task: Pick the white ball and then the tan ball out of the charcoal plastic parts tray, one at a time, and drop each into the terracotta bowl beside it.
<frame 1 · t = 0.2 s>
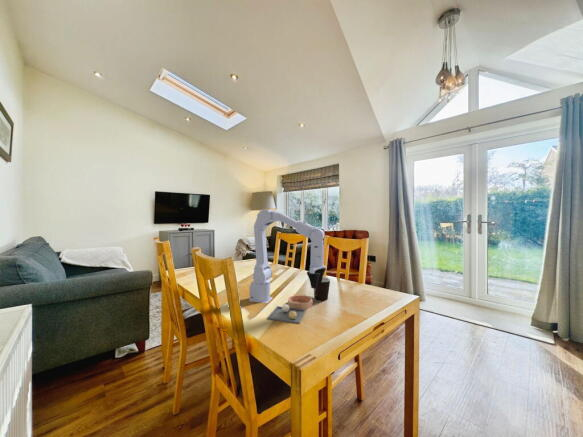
hand: (316, 285, 105), 10 cm above the table, fingers open, 7 cm apart
parts tray: (287, 316, 96), on the table
white ball: (285, 312, 98), point 1 cm above the table, touching parts tray
tan ball: (292, 319, 92), point 1 cm above the table, touching parts tray
bowl: (300, 305, 107), on the table
coffee mug: (321, 298, 117), on the table
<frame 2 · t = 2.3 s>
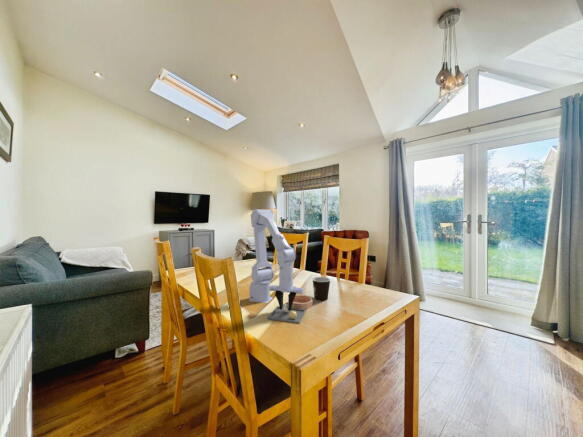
hand: (285, 309, 98), 2 cm above the table, fingers closed on white ball, 3 cm apart
white ball: (285, 312, 98), point 1 cm above the table, touching gripper, parts tray
everything else where it was.
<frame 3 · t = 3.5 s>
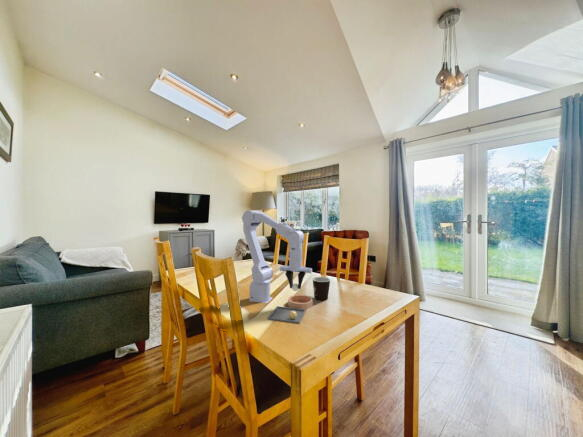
hand: (295, 287, 104), 9 cm above the table, fingers closed on white ball, 3 cm apart
white ball: (295, 290, 104), point 8 cm above the table, touching gripper
everything else where it was.
when the fingers open (4 cm above the table, at t = 4.8 s): white ball drops 2 cm, resting on bowl.
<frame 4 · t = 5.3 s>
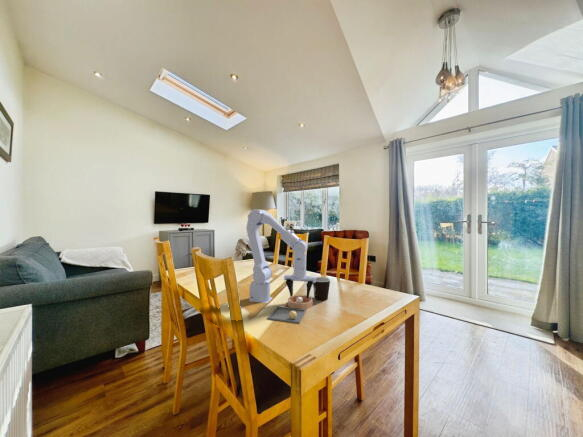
hand: (299, 296, 108), 4 cm above the table, fingers open, 7 cm apart
white ball: (299, 303, 108), point 1 cm above the table, touching bowl
everything else where it was.
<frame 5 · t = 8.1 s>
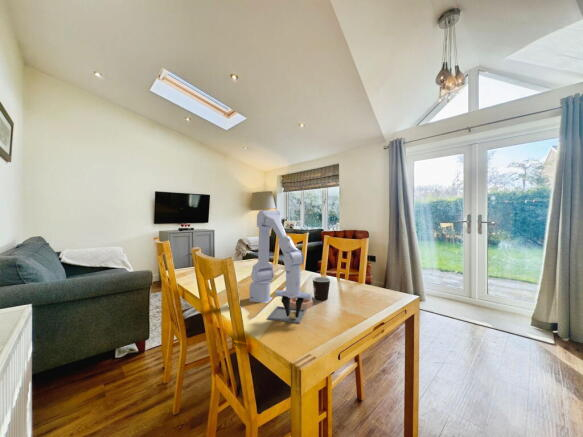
hand: (292, 315, 92), 2 cm above the table, fingers closed on tan ball, 3 cm apart
tan ball: (292, 319, 92), point 1 cm above the table, touching gripper, parts tray
everything else where it was.
when the fingers open (4 cm above the table, at t = 10.9 s): tan ball drops 1 cm and tips over, resting on bowl.
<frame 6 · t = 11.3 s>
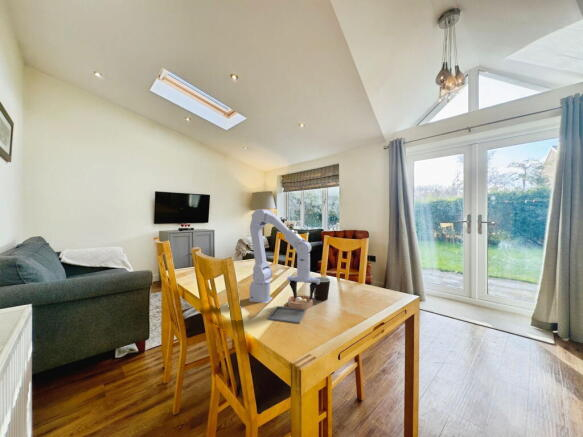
hand: (303, 298, 106), 4 cm above the table, fingers open, 7 cm apart
white ball: (299, 303, 108), point 1 cm above the table, tilted 10°, touching bowl
tan ball: (301, 302, 106), point 2 cm above the table, tilted 69°, touching bowl
everything else where it was.
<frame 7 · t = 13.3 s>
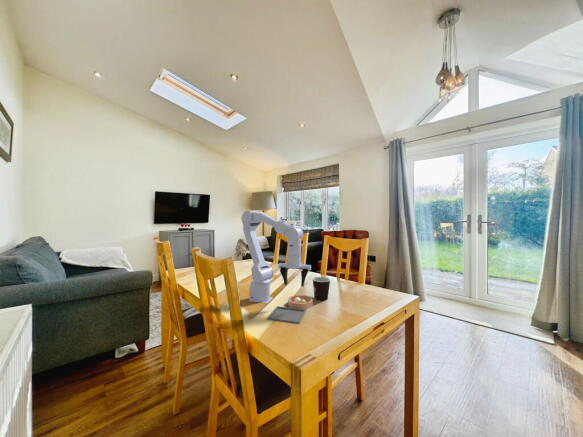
hand: (294, 285, 104), 10 cm above the table, fingers open, 7 cm apart
white ball: (299, 303, 108), point 1 cm above the table, tilted 40°, touching bowl
everything else where it was.
at the end: white ball inside the target area on the bowl (0.7 cm from its centre), point 1.0 cm above the bowl's base; tan ball inside the target area on the bowl (1.3 cm from its centre), point 1.8 cm above the bowl's base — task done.
